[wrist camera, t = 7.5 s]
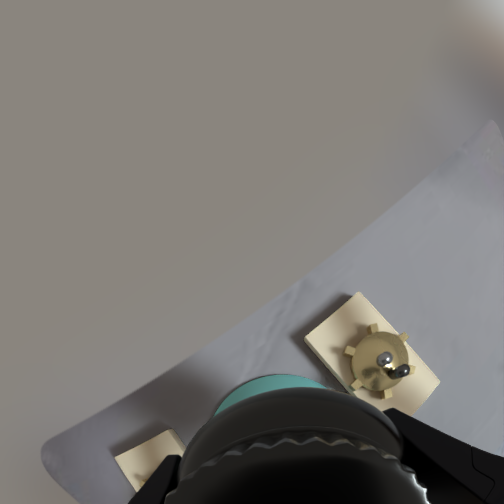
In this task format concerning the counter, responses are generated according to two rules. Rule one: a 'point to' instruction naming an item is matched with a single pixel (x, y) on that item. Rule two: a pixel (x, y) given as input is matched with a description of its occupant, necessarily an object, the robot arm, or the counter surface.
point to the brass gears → (376, 362)
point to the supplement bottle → (298, 454)
